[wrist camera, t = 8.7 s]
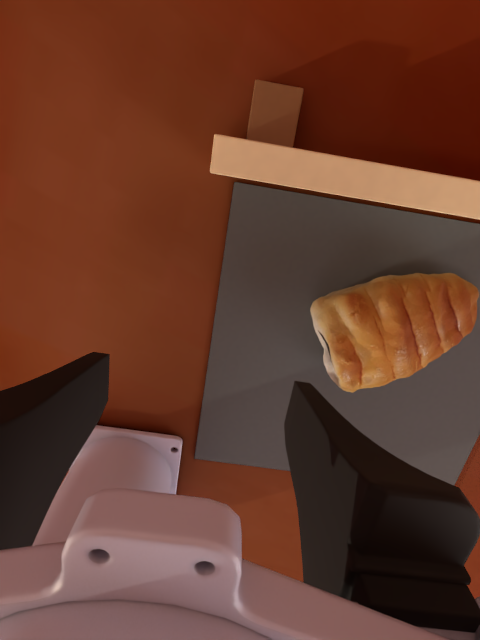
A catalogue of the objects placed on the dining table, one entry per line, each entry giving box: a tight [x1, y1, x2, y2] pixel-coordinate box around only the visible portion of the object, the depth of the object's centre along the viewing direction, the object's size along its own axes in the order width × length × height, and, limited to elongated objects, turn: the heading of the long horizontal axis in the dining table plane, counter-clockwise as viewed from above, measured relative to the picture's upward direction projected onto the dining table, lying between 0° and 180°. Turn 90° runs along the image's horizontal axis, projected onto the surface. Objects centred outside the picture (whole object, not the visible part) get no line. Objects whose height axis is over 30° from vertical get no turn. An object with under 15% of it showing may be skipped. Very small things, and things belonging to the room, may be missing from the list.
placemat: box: [194, 182, 480, 485], centre depth 24 cm, size 20×20×1 cm
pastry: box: [310, 273, 479, 393], centre depth 21 cm, size 9×7×4 cm
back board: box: [210, 80, 480, 219], centre depth 17 cm, size 4×22×5 cm, turn 81°
